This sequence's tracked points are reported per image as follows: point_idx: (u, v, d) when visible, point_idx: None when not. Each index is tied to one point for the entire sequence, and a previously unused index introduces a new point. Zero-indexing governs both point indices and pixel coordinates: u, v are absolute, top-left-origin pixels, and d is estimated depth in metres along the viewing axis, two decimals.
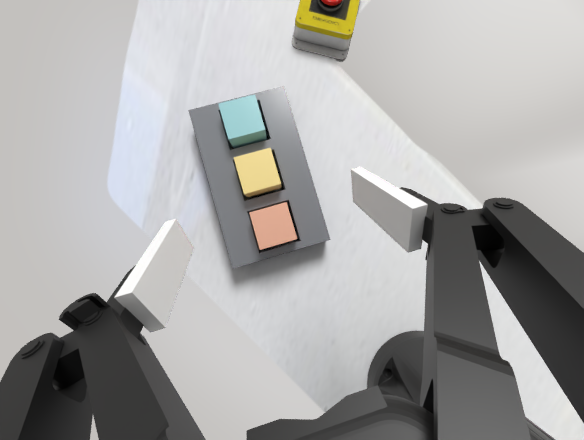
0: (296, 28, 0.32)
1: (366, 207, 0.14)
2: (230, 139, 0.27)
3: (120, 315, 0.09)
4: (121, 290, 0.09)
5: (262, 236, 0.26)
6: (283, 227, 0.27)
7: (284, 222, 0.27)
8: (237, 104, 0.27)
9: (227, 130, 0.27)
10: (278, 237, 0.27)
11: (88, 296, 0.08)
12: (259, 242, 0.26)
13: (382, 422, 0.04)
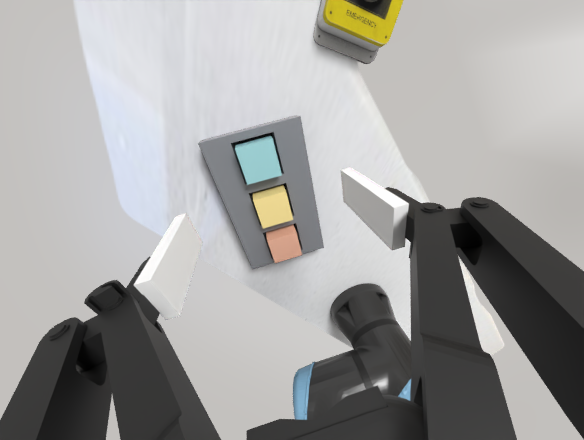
0: (323, 21, 0.25)
1: (355, 206, 0.15)
2: (249, 183, 0.29)
3: (139, 302, 0.09)
4: (139, 278, 0.09)
5: (277, 255, 0.36)
6: (292, 248, 0.36)
7: (293, 245, 0.35)
8: (254, 149, 0.27)
9: (246, 176, 0.28)
10: (288, 255, 0.36)
11: (111, 283, 0.09)
12: (274, 258, 0.36)
13: (382, 422, 0.04)
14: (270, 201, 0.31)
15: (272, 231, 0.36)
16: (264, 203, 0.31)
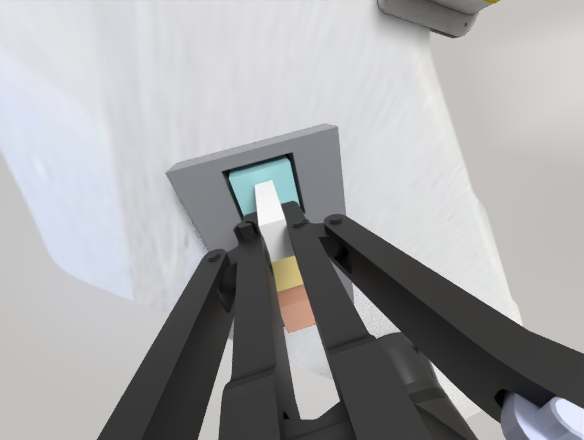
0: None
1: None
2: None
3: (264, 244, 0.11)
4: (260, 222, 0.11)
5: (291, 324, 0.25)
6: None
7: None
8: (261, 179, 0.17)
9: None
10: (307, 322, 0.25)
11: (251, 221, 0.11)
12: (288, 328, 0.25)
13: None
14: (285, 258, 0.20)
15: None
16: (275, 261, 0.20)
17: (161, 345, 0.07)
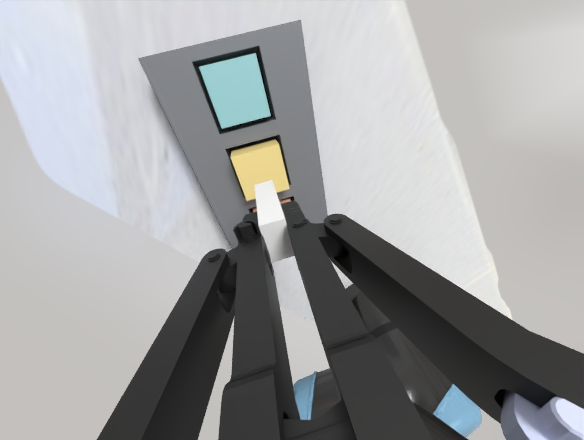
0: None
1: None
2: (224, 127, 0.20)
3: (264, 244, 0.11)
4: (260, 222, 0.11)
5: None
6: None
7: None
8: (229, 70, 0.18)
9: (219, 115, 0.20)
10: None
11: (251, 221, 0.11)
12: None
13: None
14: (256, 159, 0.21)
15: None
16: (247, 162, 0.21)
17: (161, 345, 0.07)
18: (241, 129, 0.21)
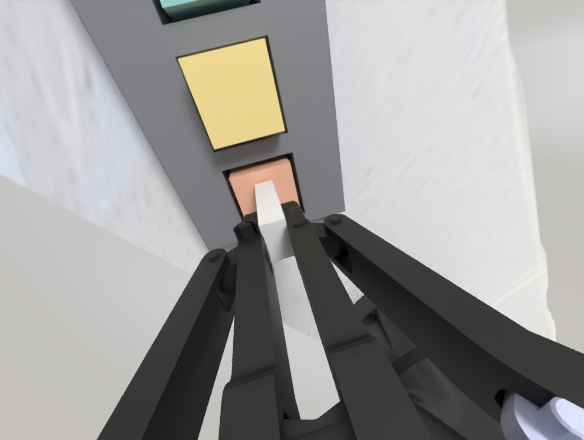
0: None
1: None
2: (167, 8, 0.12)
3: (264, 244, 0.11)
4: (260, 222, 0.11)
5: None
6: (282, 200, 0.18)
7: (284, 193, 0.18)
8: None
9: None
10: None
11: (251, 221, 0.11)
12: None
13: None
14: (225, 67, 0.12)
15: (243, 167, 0.18)
16: (210, 72, 0.12)
17: (161, 345, 0.07)
18: (201, 18, 0.12)
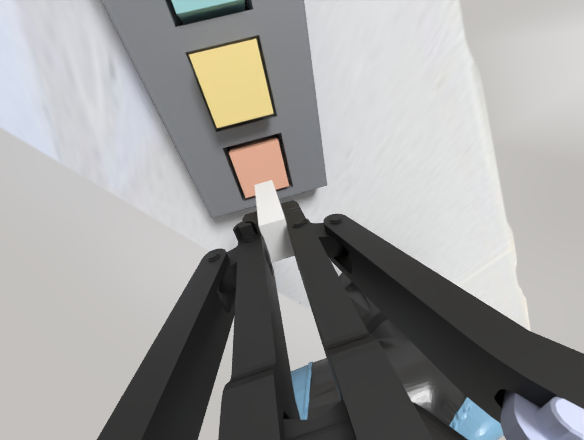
0: None
1: None
2: (180, 13, 0.15)
3: (264, 244, 0.11)
4: (260, 222, 0.11)
5: (247, 183, 0.22)
6: (273, 173, 0.22)
7: (274, 166, 0.22)
8: None
9: None
10: None
11: (251, 221, 0.11)
12: (244, 190, 0.22)
13: None
14: (225, 61, 0.15)
15: (240, 145, 0.22)
16: (213, 65, 0.15)
17: (161, 345, 0.07)
18: (205, 21, 0.16)
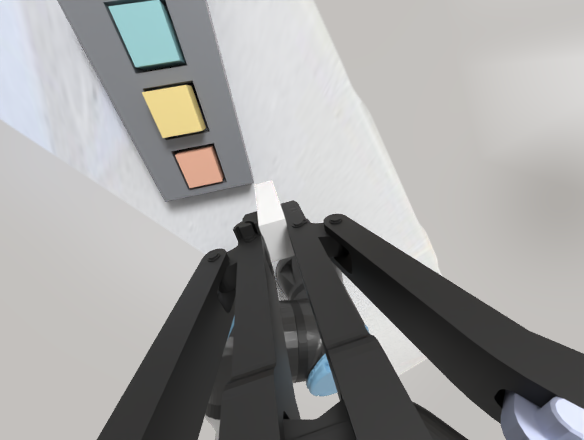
0: None
1: None
2: (138, 66, 0.24)
3: (264, 245, 0.11)
4: (260, 222, 0.11)
5: (190, 177, 0.31)
6: (209, 171, 0.31)
7: (209, 166, 0.30)
8: (136, 13, 0.21)
9: (131, 53, 0.23)
10: (205, 179, 0.31)
11: (251, 221, 0.11)
12: (188, 182, 0.31)
13: None
14: (166, 97, 0.24)
15: (187, 150, 0.31)
16: (158, 99, 0.24)
17: (161, 345, 0.07)
18: (155, 71, 0.24)
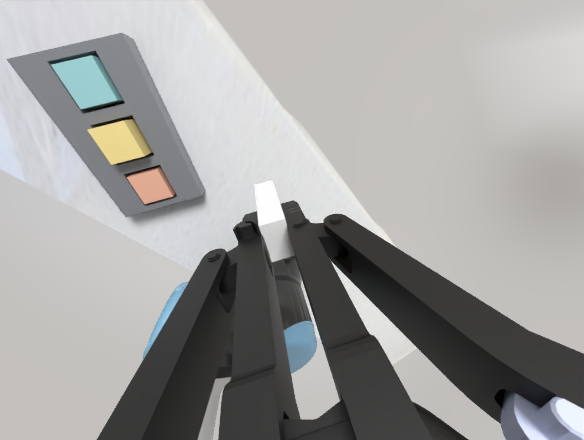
0: None
1: None
2: (83, 108, 0.28)
3: (264, 245, 0.11)
4: (260, 222, 0.11)
5: (143, 195, 0.35)
6: (159, 188, 0.35)
7: (159, 185, 0.35)
8: (75, 67, 0.26)
9: (75, 99, 0.28)
10: (157, 195, 0.36)
11: (251, 221, 0.11)
12: (142, 199, 0.36)
13: None
14: (108, 132, 0.29)
15: (140, 171, 0.36)
16: (102, 134, 0.29)
17: (161, 344, 0.07)
18: (99, 110, 0.29)
